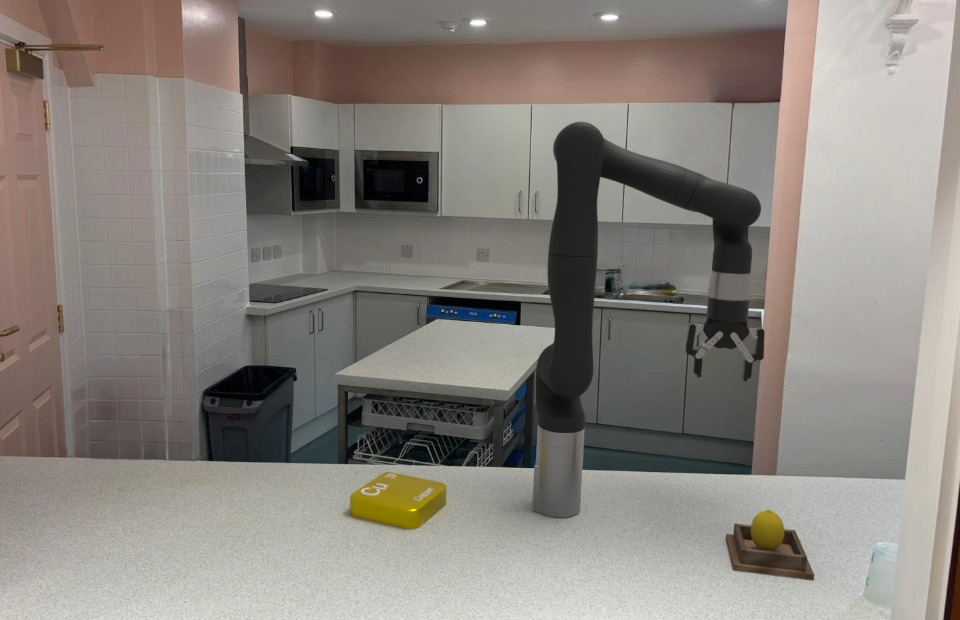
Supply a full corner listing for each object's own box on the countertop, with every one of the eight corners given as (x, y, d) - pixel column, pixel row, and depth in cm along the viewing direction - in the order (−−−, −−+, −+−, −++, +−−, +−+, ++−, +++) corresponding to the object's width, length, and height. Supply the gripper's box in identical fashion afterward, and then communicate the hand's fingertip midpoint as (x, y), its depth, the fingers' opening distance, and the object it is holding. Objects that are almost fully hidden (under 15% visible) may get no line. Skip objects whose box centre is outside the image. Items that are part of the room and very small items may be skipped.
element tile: (414, 533, 143) (415, 509, 142) (345, 517, 149) (345, 494, 148) (449, 503, 156) (450, 481, 156) (385, 489, 162) (385, 468, 161)
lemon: (784, 561, 133) (789, 518, 132) (751, 557, 134) (755, 514, 133) (778, 547, 139) (783, 505, 137) (746, 543, 140) (750, 502, 138)
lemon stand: (733, 570, 132) (734, 551, 131) (725, 538, 144) (727, 521, 143) (813, 580, 130) (815, 560, 129) (799, 547, 141) (801, 529, 141)
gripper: (691, 296, 144) (684, 380, 147) (771, 300, 141) (763, 386, 144) (688, 290, 151) (682, 371, 154) (765, 295, 148) (757, 376, 151)
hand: (721, 378), depth 149 cm, fingers open, 8 cm apart
